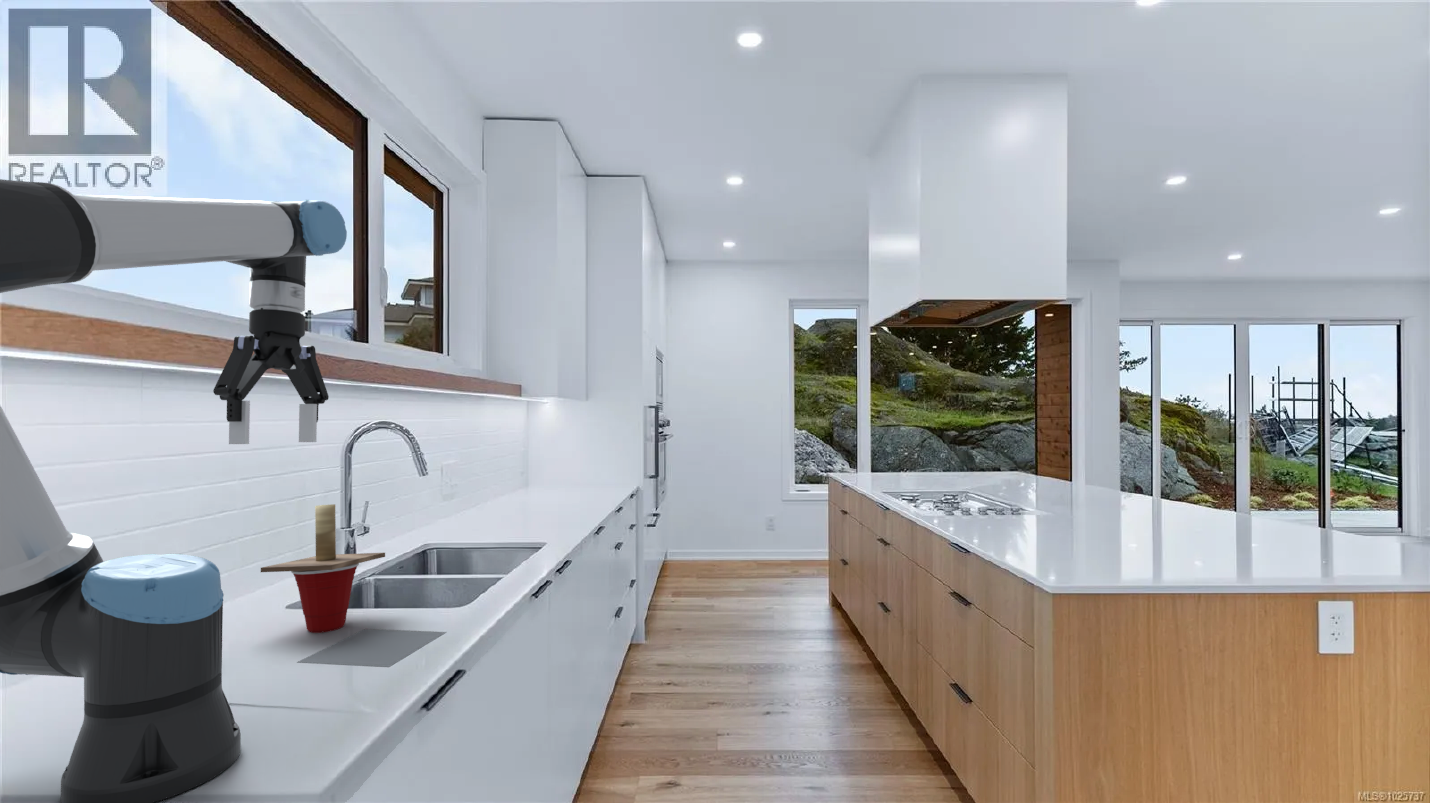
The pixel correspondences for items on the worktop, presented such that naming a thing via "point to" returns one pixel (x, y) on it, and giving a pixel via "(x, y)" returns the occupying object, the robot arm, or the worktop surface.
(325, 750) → the worktop surface
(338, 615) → the plastic cup
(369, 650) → the charcoal mat
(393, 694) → the worktop surface
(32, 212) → the robot arm
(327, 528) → the walnut lid
